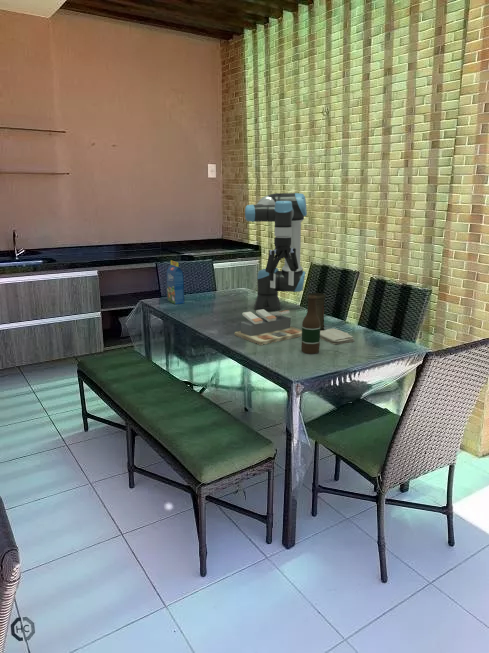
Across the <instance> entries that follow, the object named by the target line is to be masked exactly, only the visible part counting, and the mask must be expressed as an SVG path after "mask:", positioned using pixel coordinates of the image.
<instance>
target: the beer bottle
mask: <svg viewBox="0 0 489 653" xmlns="http://www.w3.org/2000/svg"><path fill="white" fill-rule="evenodd" d="M316 299H317V297H316V296H314V295H310V296H308V295H307V300H308V301H307V311H306V315H305V317H304V318H303V321H302V325H301V330H302V336H301V352H302V353H304V354H307V355H316V354H319V351H320V346H321V343H320V341H321V339H320V320H319V317H318V316H317V313H316Z"/></svg>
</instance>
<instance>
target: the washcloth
mask: <svg viewBox="0 0 489 653" xmlns="http://www.w3.org/2000/svg"><path fill="white" fill-rule="evenodd" d="M320 340H323V341H325V342H327V343H330V344H331V345H334V346H335V345H343V344H348V343H353V342H355V338H354V336H352V335H351V334H349V333H348V332H346V331H345V332H344V331H342V330H340V329H337V328H327V329H325V330H324V331H320Z"/></svg>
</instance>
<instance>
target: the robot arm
mask: <svg viewBox="0 0 489 653" xmlns="http://www.w3.org/2000/svg"><path fill="white" fill-rule="evenodd" d="M307 212H308V208H307V201H306V195H305V194H304V193H301V192H299V193H298V192H286V193H284V192H283V193H282V192H281V193H278V192H277V193H275V192H274V193H271V194H267V195H264V196H263V197H261V198H260V199H259V200H258V201H257V203H256V204H247V205H246V206H245V209H244V217H245V221H246V222H252V223H254V222H258V223H259V222H263V223H264V222H266V223H267V222H270V223H271V222H273V223H274V236H275V237H274V241H273V243H274V244H273V246H274V248H273V249H268V258H267V262H266V267H265V268H263V269H260V270H258V272H257V278H256V279H257V296H256V299H255V302H254V305H253V306H254V309H253V310H255V311H256V310H261V309H264V310H266V311H267V312H268V313H271V312H277V311H281V309H282V308H281V307H282V306H281V302H280V299H279V292H285V293H286V292H290V293H300V292H302V291H303V289H304V283H305V277H306V271H305V270H303V269H304V268H303V266H302V265H301V242H302V241H301V236H302V234H301V232H302V231H301V229H302V222H303V221H304V220H305V217H306V216H307V214H308V213H307ZM282 259H284V265H283V266H282V268H281V270H279V268H278V265H279V263H280V261H281V260H282Z"/></svg>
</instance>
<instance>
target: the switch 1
mask: <svg viewBox="0 0 489 653" xmlns="http://www.w3.org/2000/svg"><path fill="white" fill-rule="evenodd" d="M242 316H243V317H244V318H245V319H247V321H249V320H250V321H251V322H252V323H254V324H259V323H262V322H263V320H262V319H261V318H262V317H258V316H257V315H256V314H254V313H253V312H252V311H245V312H242Z"/></svg>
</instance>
